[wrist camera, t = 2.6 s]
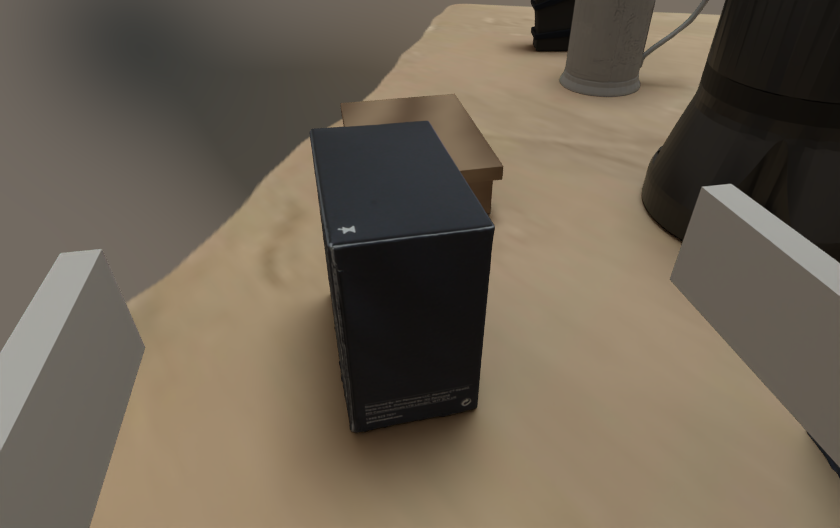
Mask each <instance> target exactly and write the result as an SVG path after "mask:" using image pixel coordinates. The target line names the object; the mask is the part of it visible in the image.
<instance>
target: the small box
mask: <svg viewBox="0 0 840 528" xmlns="http://www.w3.org/2000/svg"><path fill="white" fill-rule="evenodd" d="M310 140H311V147H312V154H313V162H314V169H315V176H316V184H317V192H318V199H319V207H320V215H321V222H322V231H323V240H324V246H325V254H326V262H327V270H328V279H329V285H330V292H331V299H332V307H333V315H334V324H335V331H336V338H337V346H338V352H339V359H340V361H339V364H340V368H341V373H342V374H341V379H342V382H343V388H344V393H345V399H346V404H347V410H348V416H349V423H350V430H351V431H353V432H366V431H369V430H373V429H375V428H380V427H387V426H391V425H395V424H400V423H406V422H410V421H416V420H422V419H427V418H432V417H437V416H446V415H451V414H454V413H459V412H463V411H467V410H472V409H475V408H477V404H478V392H479V380H480V368H481V357H482V347H483V336H484V325H485V316H486V305H487V295H488V285H489V274H490V264H491V251H492V243H493V236H494V230H495V227H494V224H493V223H492V221H491V220H490V218H489V216H488V215H487V213H486V212H485V210H484V208H483V207H482V205H481V203H480V202H479V200H478V199H477V197H476V196H475V194H474V193H473V191H472V190H471V188H470V186H469V185H468V183H467V182H466V180H465V179H464V177H463V175H462V174H461V172H460V171H459V169H458V167H457V166H456V164H455V163H454V161H453V159H452V158H451V156H450V155H449V153H448V151H447V150H446V148H445V147H444V145H443V143H442V142H441V140H440V138H439V137H438V135H437V134H436V132H435V130H434V129H433V127H432V125H431V124H430V122H429V121H414V122H403V123H389V124H379V125H364V126H349V127H333V128H320V129H311V131H310Z"/></svg>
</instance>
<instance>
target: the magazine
mask: <svg viewBox="0 0 840 528" xmlns="http://www.w3.org/2000/svg"><path fill="white" fill-rule="evenodd" d="M531 4H532V6H533V8H534V10H535V27H532V28H531V33H532V35H533V37H534V39H533V45H534V47H535V49H536V51H568V47H569V40H570V33H571V26H572V20H573V13H574V6H575V0H531Z"/></svg>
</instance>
